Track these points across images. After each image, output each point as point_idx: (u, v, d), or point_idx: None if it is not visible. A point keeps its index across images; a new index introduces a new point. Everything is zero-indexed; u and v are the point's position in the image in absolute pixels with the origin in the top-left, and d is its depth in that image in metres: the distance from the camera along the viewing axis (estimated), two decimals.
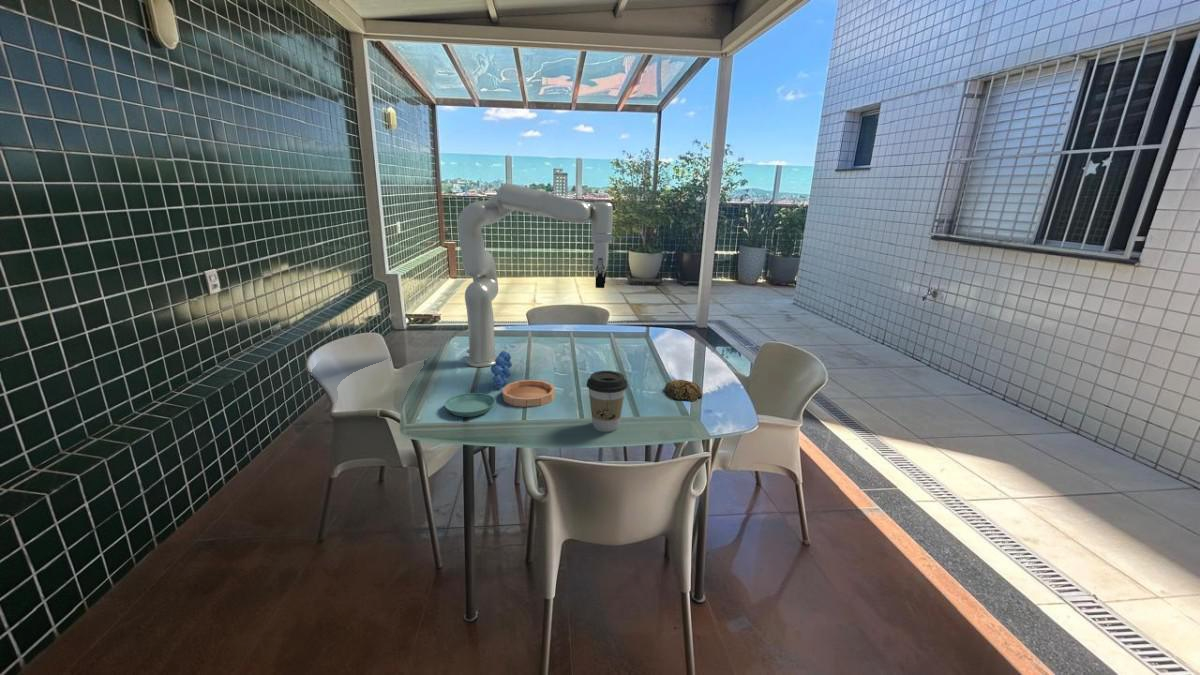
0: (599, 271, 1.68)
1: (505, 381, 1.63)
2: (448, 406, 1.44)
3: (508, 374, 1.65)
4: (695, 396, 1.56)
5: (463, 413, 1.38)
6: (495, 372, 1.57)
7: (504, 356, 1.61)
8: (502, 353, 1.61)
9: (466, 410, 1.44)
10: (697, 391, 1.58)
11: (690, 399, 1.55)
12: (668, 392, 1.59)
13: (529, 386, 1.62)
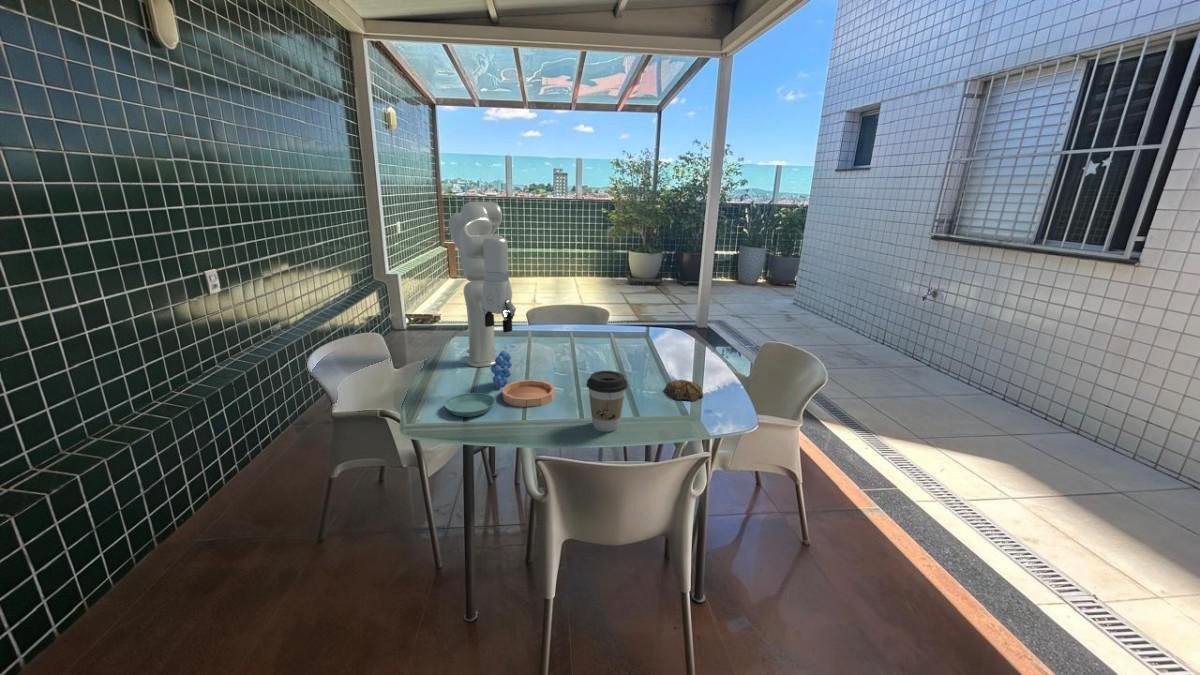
0: (512, 314, 1.52)
1: (505, 381, 1.63)
2: (448, 406, 1.44)
3: (508, 374, 1.65)
4: (696, 396, 1.56)
5: (463, 413, 1.38)
6: (495, 372, 1.57)
7: (504, 356, 1.61)
8: (502, 353, 1.61)
9: (466, 410, 1.44)
10: (698, 391, 1.58)
11: (691, 399, 1.55)
12: (669, 392, 1.59)
13: (529, 386, 1.62)
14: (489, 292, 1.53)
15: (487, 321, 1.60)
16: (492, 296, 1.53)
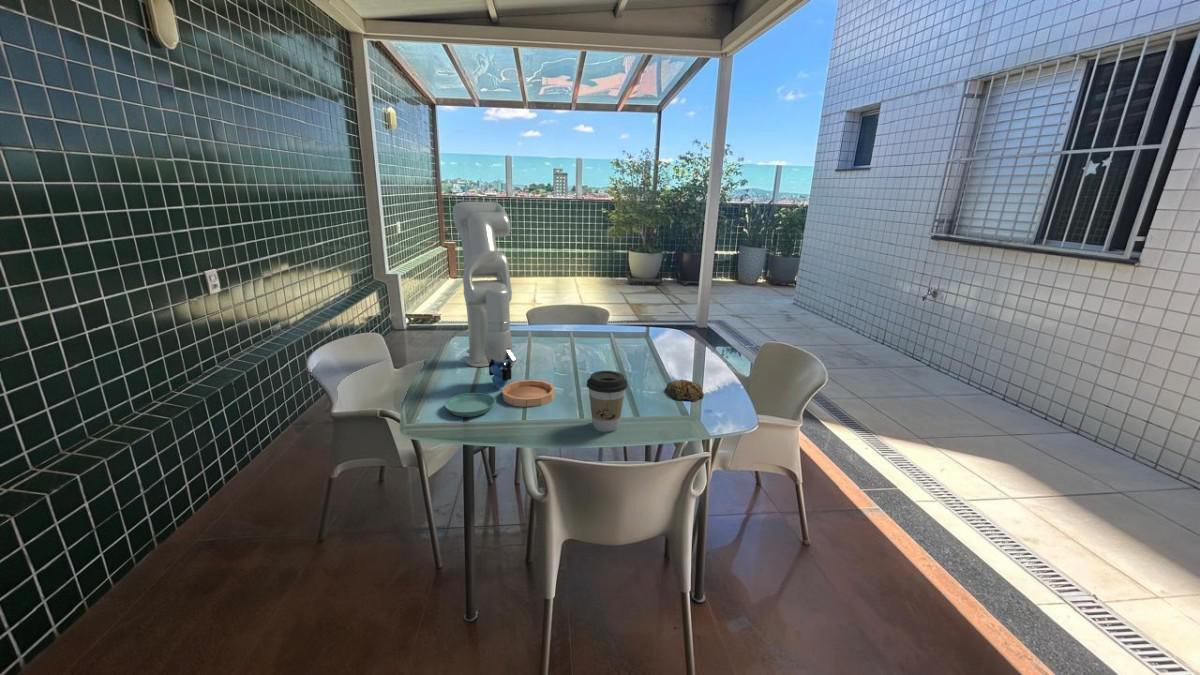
0: (511, 364, 1.57)
1: (505, 381, 1.63)
2: (448, 406, 1.44)
3: None
4: (696, 396, 1.56)
5: (463, 413, 1.38)
6: (494, 372, 1.57)
7: None
8: None
9: (466, 410, 1.44)
10: (698, 391, 1.58)
11: (691, 399, 1.55)
12: (669, 392, 1.59)
13: (529, 386, 1.62)
14: (491, 341, 1.58)
15: None
16: (494, 345, 1.57)
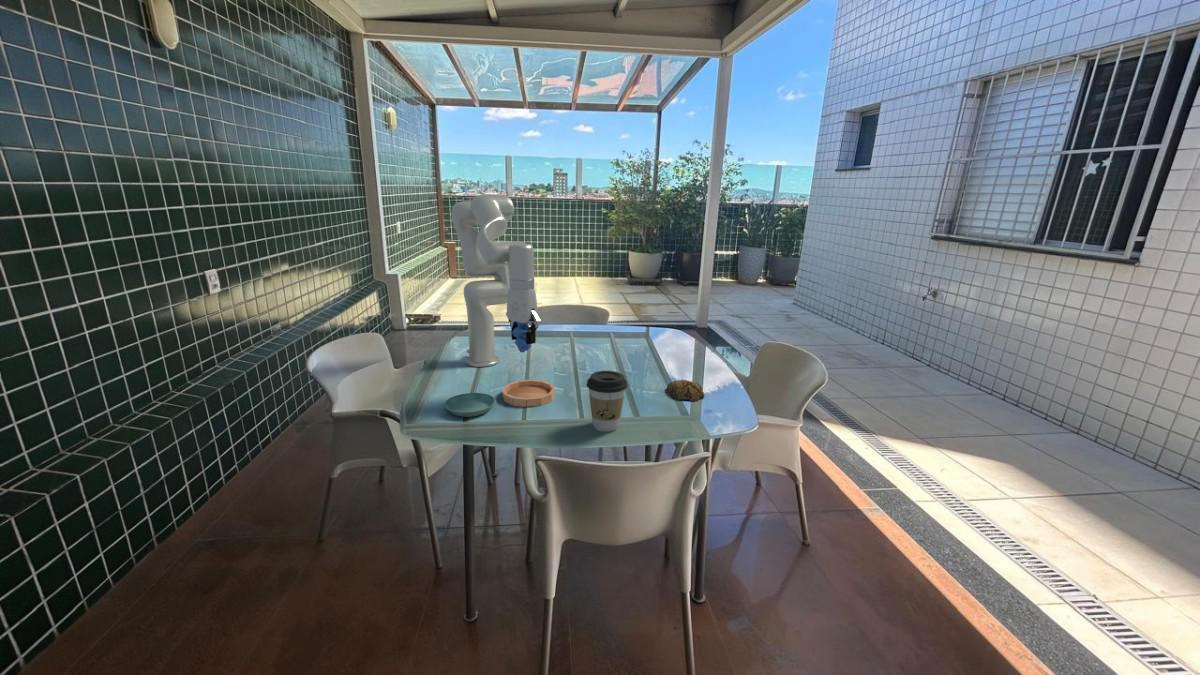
0: (536, 326, 1.46)
1: (528, 345, 1.52)
2: (448, 406, 1.44)
3: None
4: (697, 396, 1.56)
5: (463, 413, 1.38)
6: (517, 334, 1.46)
7: None
8: None
9: (466, 410, 1.44)
10: (699, 391, 1.58)
11: (692, 399, 1.55)
12: (670, 392, 1.59)
13: (529, 386, 1.62)
14: (514, 301, 1.47)
15: None
16: (517, 305, 1.46)
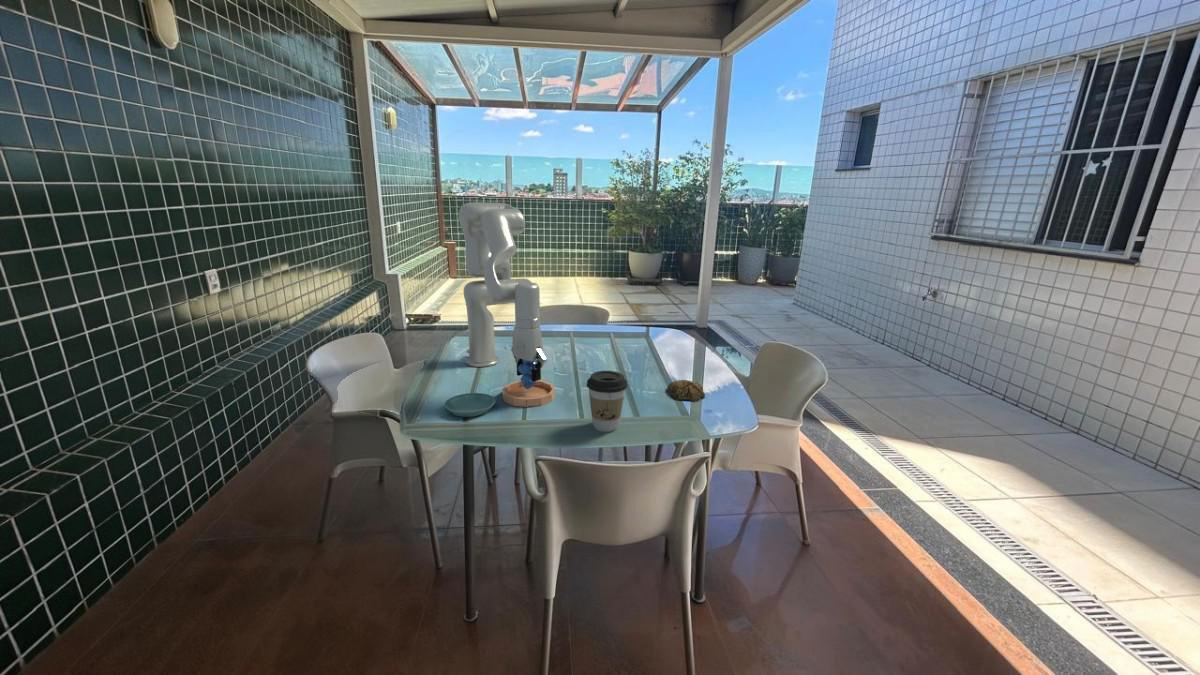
0: (541, 364, 1.48)
1: None
2: (448, 406, 1.44)
3: None
4: (698, 396, 1.56)
5: (463, 413, 1.38)
6: (523, 372, 1.48)
7: None
8: None
9: (466, 410, 1.44)
10: (700, 391, 1.58)
11: (693, 400, 1.55)
12: (671, 392, 1.59)
13: None
14: (520, 339, 1.49)
15: None
16: (523, 343, 1.48)
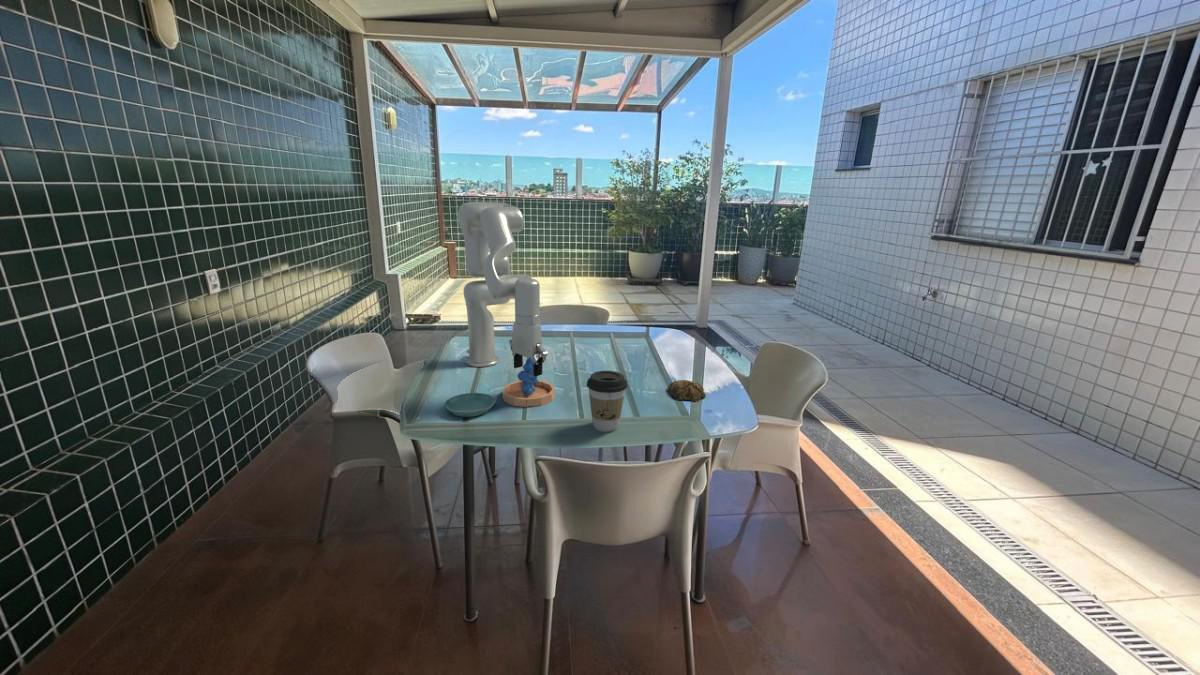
0: (543, 358, 1.47)
1: (533, 389, 1.55)
2: (448, 406, 1.44)
3: (535, 381, 1.57)
4: (698, 396, 1.56)
5: (463, 413, 1.38)
6: (524, 379, 1.49)
7: (532, 362, 1.53)
8: (530, 359, 1.53)
9: (466, 410, 1.44)
10: (700, 391, 1.58)
11: (693, 400, 1.55)
12: (671, 392, 1.59)
13: None
14: (520, 335, 1.49)
15: (516, 362, 1.56)
16: (523, 339, 1.48)
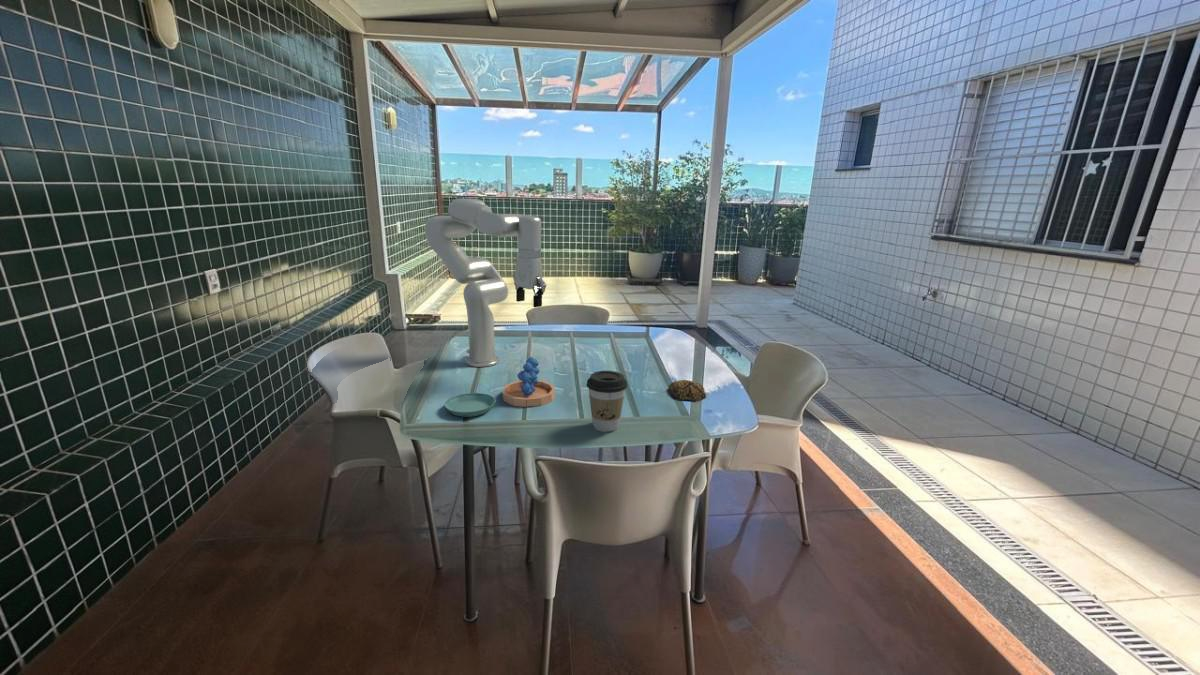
0: (542, 290, 1.60)
1: (533, 389, 1.55)
2: (448, 406, 1.44)
3: (535, 381, 1.57)
4: (699, 396, 1.56)
5: (463, 413, 1.38)
6: (524, 380, 1.49)
7: (532, 362, 1.53)
8: (530, 359, 1.53)
9: (466, 410, 1.44)
10: (701, 391, 1.58)
11: (694, 400, 1.55)
12: (672, 392, 1.59)
13: None
14: (522, 268, 1.62)
15: (518, 296, 1.69)
16: (524, 272, 1.61)
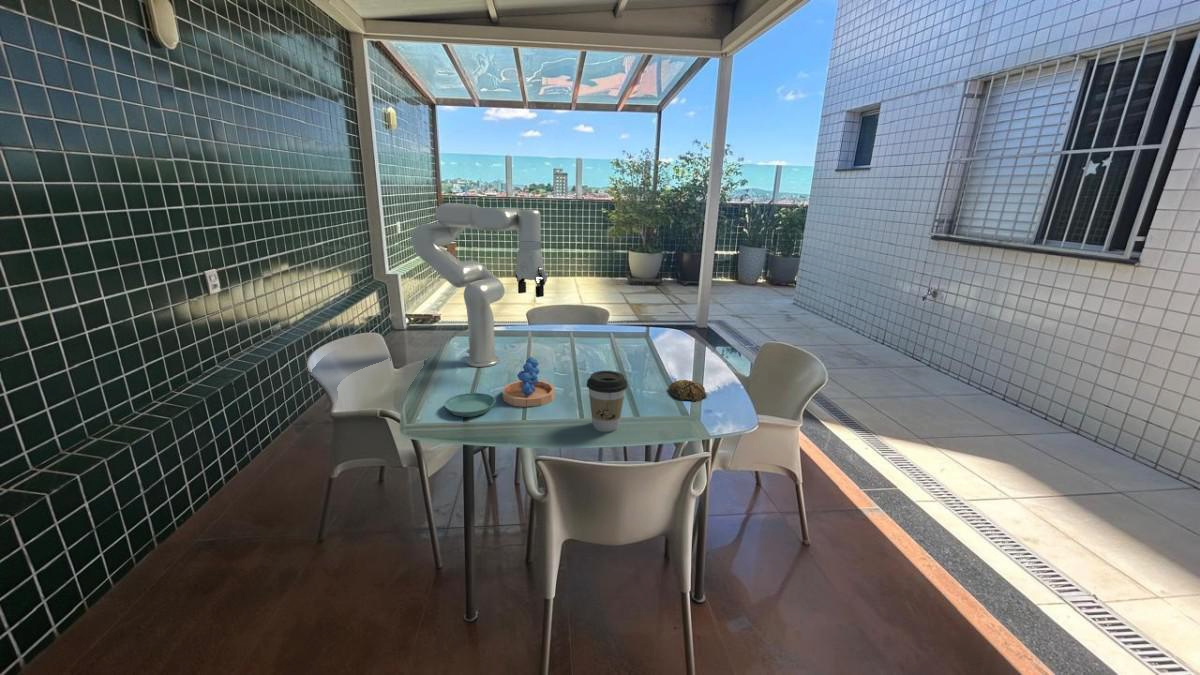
0: (544, 280, 1.66)
1: (533, 389, 1.55)
2: (448, 406, 1.44)
3: (535, 381, 1.57)
4: (699, 396, 1.56)
5: (463, 413, 1.38)
6: (524, 380, 1.49)
7: (532, 362, 1.53)
8: (530, 359, 1.53)
9: (466, 410, 1.44)
10: (701, 391, 1.58)
11: (694, 400, 1.55)
12: (672, 392, 1.59)
13: None
14: (523, 260, 1.67)
15: (520, 288, 1.74)
16: (526, 263, 1.67)
